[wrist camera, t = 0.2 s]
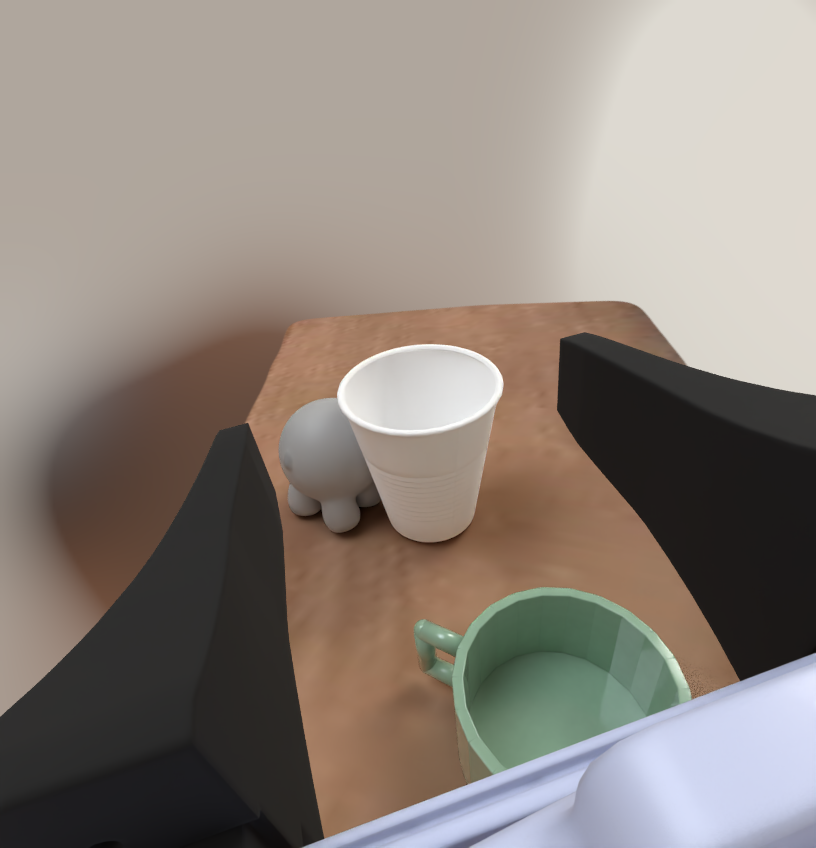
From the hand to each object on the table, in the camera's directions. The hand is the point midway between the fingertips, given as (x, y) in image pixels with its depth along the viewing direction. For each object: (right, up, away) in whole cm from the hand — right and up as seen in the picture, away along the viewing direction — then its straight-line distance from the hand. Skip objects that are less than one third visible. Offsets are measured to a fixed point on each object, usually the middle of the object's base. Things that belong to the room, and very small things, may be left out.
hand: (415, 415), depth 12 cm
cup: (+2, -7, +27) cm, 28 cm away
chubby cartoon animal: (-4, -5, +30) cm, 31 cm away
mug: (+6, -15, +14) cm, 22 cm away
